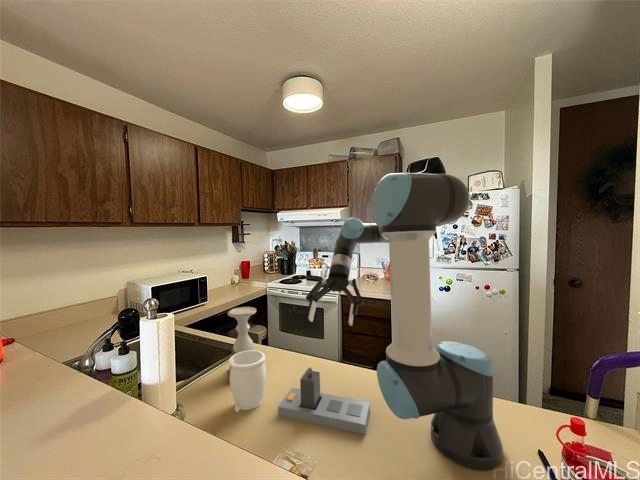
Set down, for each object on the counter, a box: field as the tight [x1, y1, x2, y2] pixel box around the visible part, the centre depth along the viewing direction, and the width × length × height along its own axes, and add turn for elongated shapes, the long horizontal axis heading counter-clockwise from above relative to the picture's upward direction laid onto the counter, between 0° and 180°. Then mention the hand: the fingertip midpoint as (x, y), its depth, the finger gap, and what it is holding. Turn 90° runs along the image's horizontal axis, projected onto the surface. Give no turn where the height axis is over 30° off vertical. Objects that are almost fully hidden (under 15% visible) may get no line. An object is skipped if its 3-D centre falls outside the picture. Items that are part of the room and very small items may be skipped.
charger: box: [299, 367, 321, 410], centre depth 73 cm, size 4×5×12 cm
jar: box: [228, 349, 267, 413], centre depth 78 cm, size 11×10×15 cm
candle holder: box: [227, 306, 257, 385], centre depth 96 cm, size 11×11×24 cm
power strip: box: [277, 387, 371, 435], centre depth 72 cm, size 24×9×4 cm, turn 72°
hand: (329, 322), depth 84 cm, fingers open, 13 cm apart
